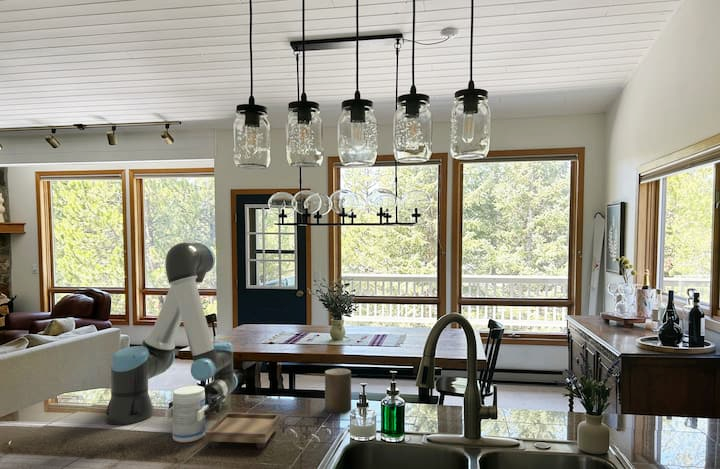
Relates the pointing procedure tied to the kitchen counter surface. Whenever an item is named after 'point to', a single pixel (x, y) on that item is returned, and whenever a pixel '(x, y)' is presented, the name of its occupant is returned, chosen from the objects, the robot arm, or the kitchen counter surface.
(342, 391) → the pillar candle
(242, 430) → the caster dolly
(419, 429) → the kitchen counter surface
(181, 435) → the supplement tub
